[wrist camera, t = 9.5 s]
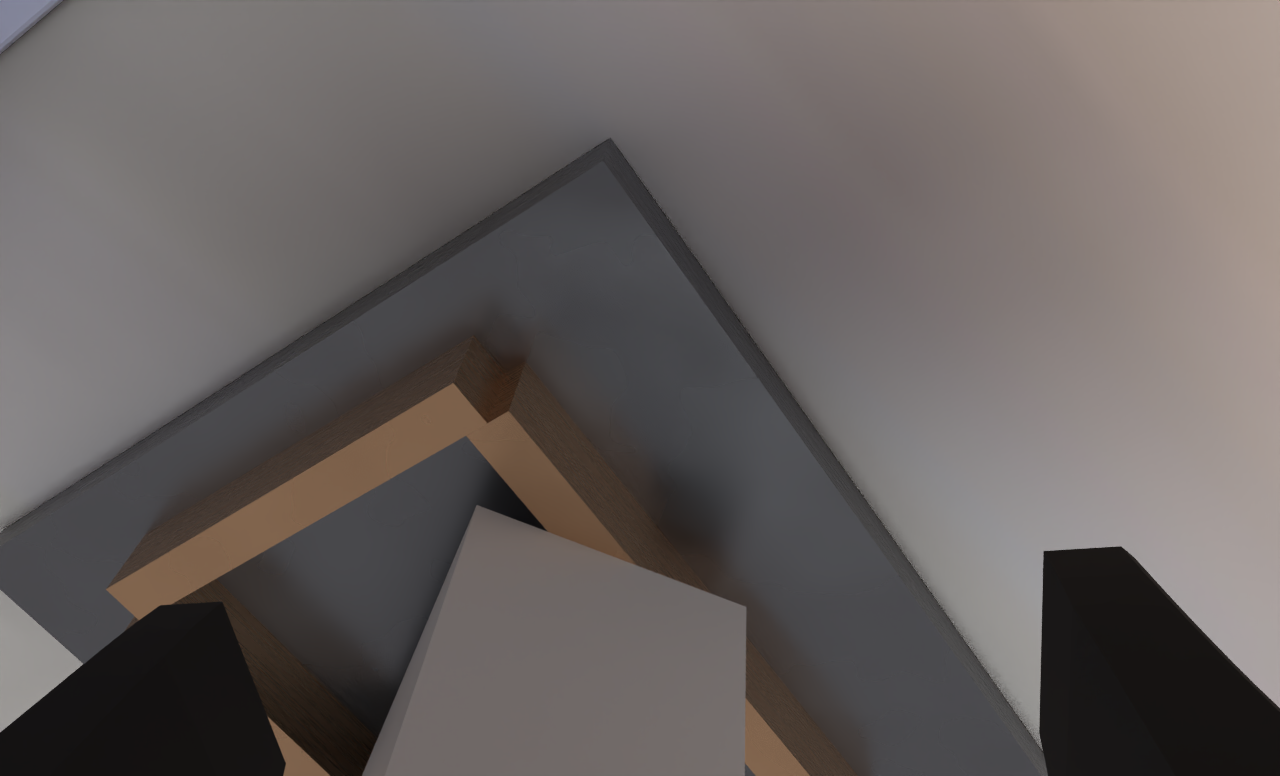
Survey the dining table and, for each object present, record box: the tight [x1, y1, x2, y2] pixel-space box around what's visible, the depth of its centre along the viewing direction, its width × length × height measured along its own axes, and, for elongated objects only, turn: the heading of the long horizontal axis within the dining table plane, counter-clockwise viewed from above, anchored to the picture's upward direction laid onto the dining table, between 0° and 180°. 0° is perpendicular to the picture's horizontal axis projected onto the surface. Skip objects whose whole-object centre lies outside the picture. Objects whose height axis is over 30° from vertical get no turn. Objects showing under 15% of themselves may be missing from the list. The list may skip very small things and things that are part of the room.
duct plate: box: [0, 138, 1048, 776], centre depth 22 cm, size 15×14×2 cm
